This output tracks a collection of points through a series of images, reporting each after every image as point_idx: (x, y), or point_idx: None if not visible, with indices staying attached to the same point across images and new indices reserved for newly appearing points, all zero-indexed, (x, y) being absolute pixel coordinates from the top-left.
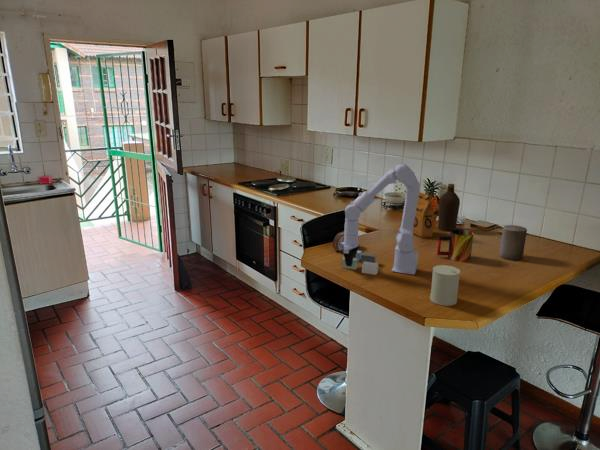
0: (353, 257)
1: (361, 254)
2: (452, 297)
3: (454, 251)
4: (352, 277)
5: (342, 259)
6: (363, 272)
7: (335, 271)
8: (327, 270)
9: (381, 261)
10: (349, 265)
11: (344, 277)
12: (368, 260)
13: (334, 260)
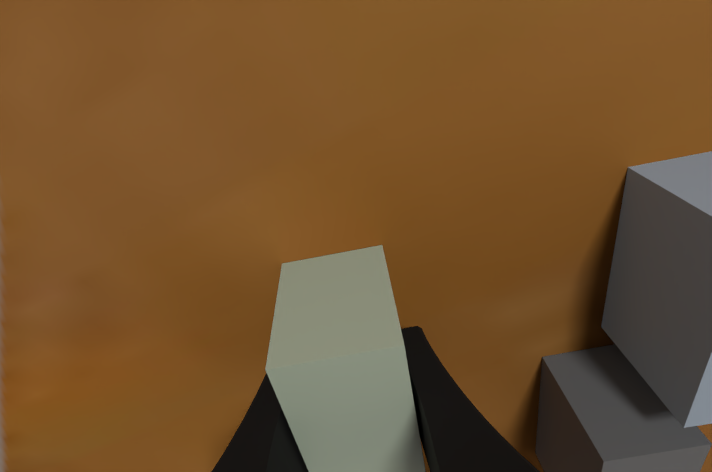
0: (428, 455)
1: (625, 458)
2: None
3: None
4: (118, 445)
5: (268, 361)
6: None
7: (97, 258)
8: (18, 147)
9: None
10: None
11: (45, 402)
12: (560, 457)
13: (518, 8)
